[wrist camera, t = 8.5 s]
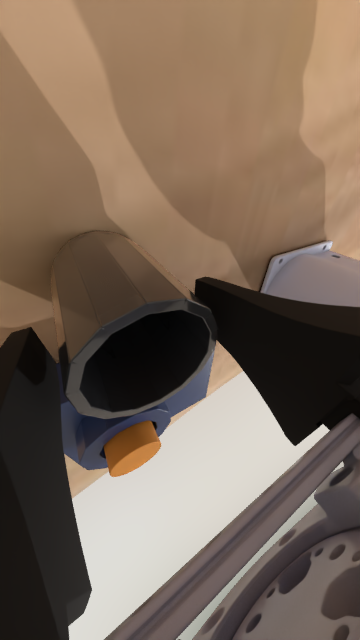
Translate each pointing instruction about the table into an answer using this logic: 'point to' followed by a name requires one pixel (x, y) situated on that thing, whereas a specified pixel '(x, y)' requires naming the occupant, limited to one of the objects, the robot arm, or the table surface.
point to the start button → (131, 448)
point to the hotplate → (121, 421)
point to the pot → (124, 326)
